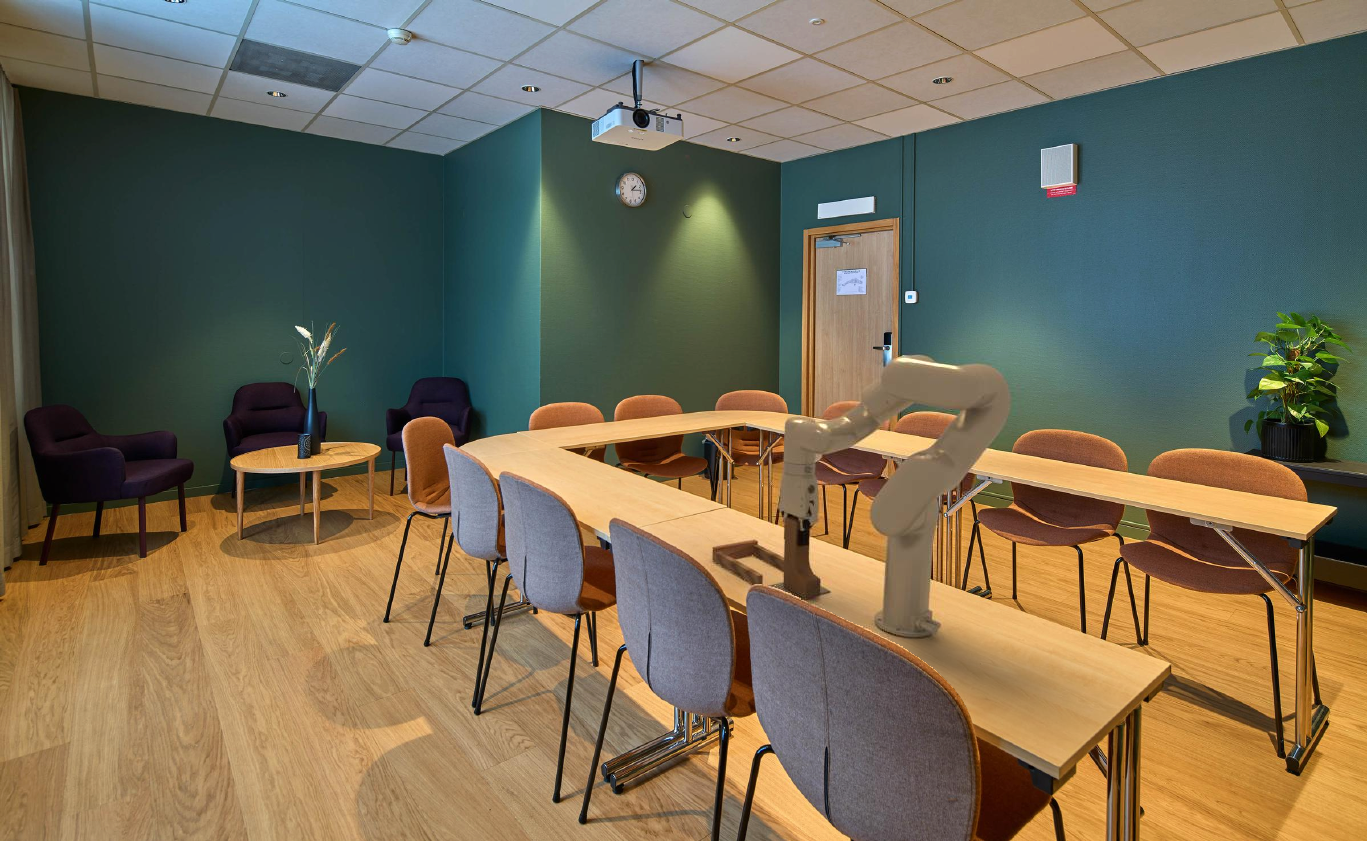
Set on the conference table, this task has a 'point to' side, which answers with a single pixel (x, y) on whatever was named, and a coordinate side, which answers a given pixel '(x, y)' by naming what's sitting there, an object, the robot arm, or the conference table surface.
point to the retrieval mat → (780, 586)
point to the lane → (730, 552)
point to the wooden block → (798, 563)
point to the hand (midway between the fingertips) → (796, 541)
